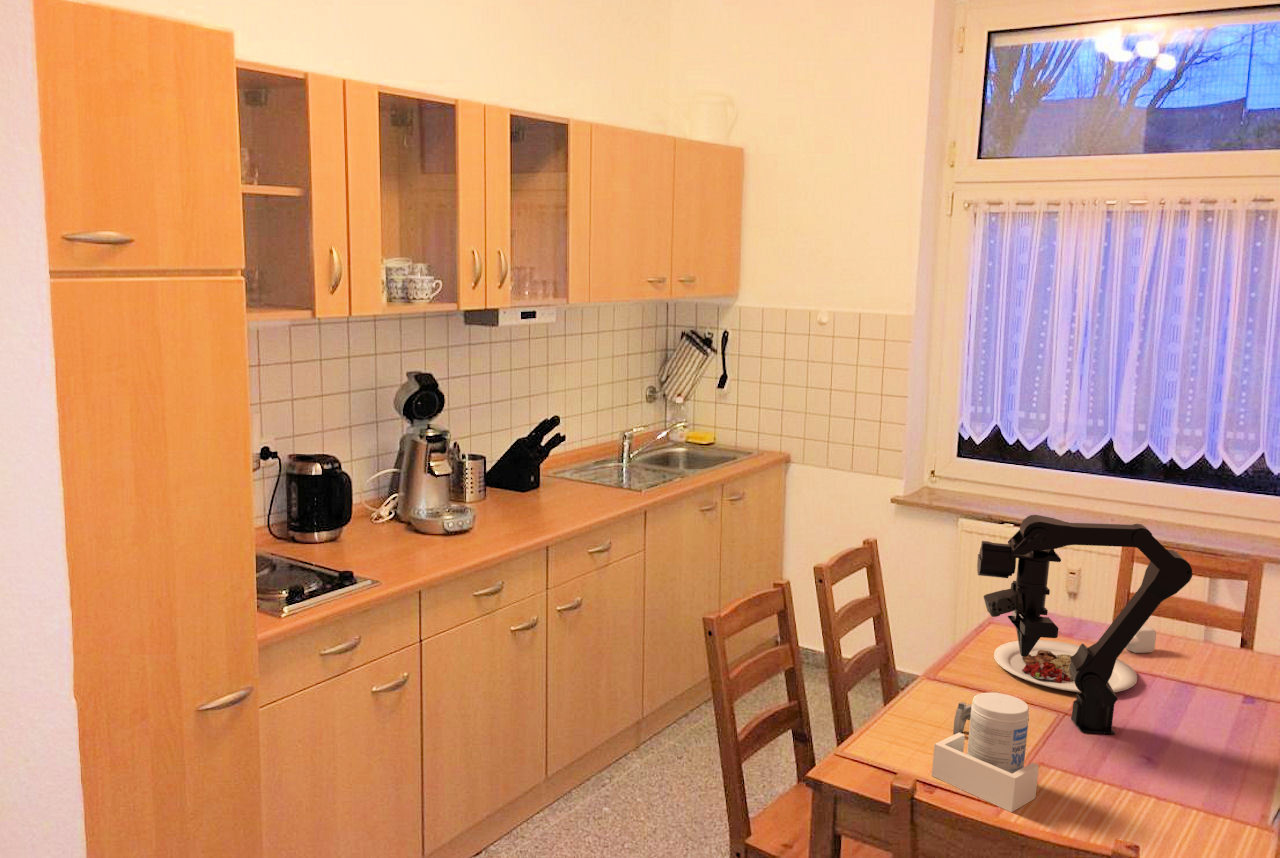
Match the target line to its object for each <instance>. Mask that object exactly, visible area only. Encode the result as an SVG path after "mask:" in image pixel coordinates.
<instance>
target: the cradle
mask: <svg viewBox="0 0 1280 858" xmlns="http://www.w3.org/2000/svg"><path fill="white" fill-rule="evenodd" d="M965 737H966V734H964V733H960V732H959V733H957V734H953V735H950V736H948V737H947V738H944V739H942V740H940V741H938V742H936V743H934V745H933V746H934V748H933V757H932V768H931V769H932V770H931V776H932V777H933V778H935V779H937V780H939V781H941V782H944V783H947V784H948V785H950V786H953V787H955V788H957V789H960V790H962V791H964V792H967V793H968V794H970V795H973V796H975V797H977V798H978V799H979V798H980V799H981V800H983V801H986V802H988V803H990V804H993V805H995V806H997V807H999V808H1000V809H1003V810H1005V811H1007V812H1009V813H1013V812H1015V811H1017V809H1019V808H1021V807H1023V806H1024V805H1026V804H1028V803H1030V802H1031V801H1033V800H1035V799H1036V795H1037V794H1036V793H1037V787H1038V778H1039V777H1038V776H1039V767H1040V765H1039V764H1037V763H1034V762H1031V763H1029V764H1027V765H1024V767H1023V768H1022V769H1020V770H1018V771H1016V772H1014V773H1010V772H1007V771H1005V770H1003V769H1000V768H998V767H996V766H993V765H991V764H989V763H986V762H984V761H982V760H979V759H977V758H975V757H972V756H970V755H968V754H967V753H965V752H964V749H965V740H966V738H965Z"/></svg>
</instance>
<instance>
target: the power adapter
mask: <svg viewBox="0 0 1280 858" xmlns="http://www.w3.org/2000/svg"><path fill="white" fill-rule="evenodd" d="M1156 638H1157V630H1156V629H1154V628H1153V627H1151V626H1148V625H1146V624H1144V625H1143V626H1142V627H1141V629H1140V630H1139V631H1138V632H1137V634H1136V635H1135V636H1134V637H1133V639H1132V640H1131V641H1130V642H1129V644H1128V645H1127V646H1126V648H1125V649H1126V650H1128V651H1130V652H1132V653H1133V654H1146V653H1147V654H1150V653H1153V652H1154V650H1155V648H1156V647H1155V645H1156V640H1157V639H1156Z"/></svg>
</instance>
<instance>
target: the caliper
mask: <svg viewBox="0 0 1280 858" xmlns="http://www.w3.org/2000/svg"><path fill="white" fill-rule="evenodd" d="M971 708H972V704H967V703H966V702H963V701H961V702H958V704H957V708H956V710H955V715H954V721H953V730H952V731H953V733H952V734H953V735H955V734H957V733H959V732H960V733H962V732H963V733H964V729H965V726H966V722H967V720H968V721H970V717H971ZM963 733H962V734H963Z"/></svg>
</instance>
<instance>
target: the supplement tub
mask: <svg viewBox="0 0 1280 858" xmlns="http://www.w3.org/2000/svg"><path fill="white" fill-rule="evenodd" d="M971 705H972V708H971V717H970V720H969V728H968V729H969V730H968V740H967V753H966V754H968V755H970V756H972V757H975V758H977V759H979V760H982V761H984V762H986V763H989V764H991V765H993V766H996V767H998V768H1000V769H1003V770H1005V771H1007V772H1010V773H1014V772H1016V771H1018V770H1020V769H1022V768H1023V767H1025V759H1026V750H1027V749H1026V747H1027V739H1028V730H1029V729H1028V728H1029V717H1030V714H1029V711H1030V709H1029V708H1030V707H1029V705H1028V704H1027V703H1026V702H1025V701H1024V700H1023V699H1020V698H1018V697H1016V696H1013V695H1009V694H1006V693H1000V692H981V693H978V694H975V695H974V697H973V699H972V704H971Z"/></svg>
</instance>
